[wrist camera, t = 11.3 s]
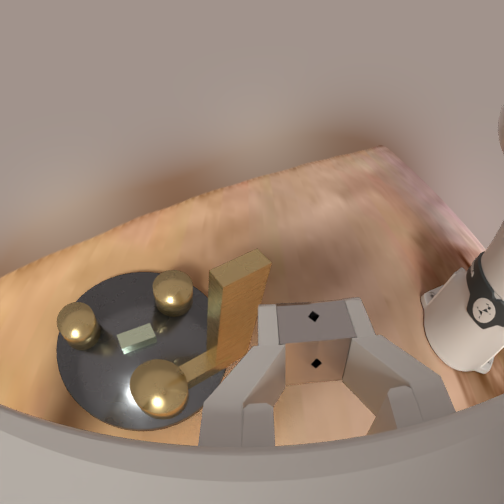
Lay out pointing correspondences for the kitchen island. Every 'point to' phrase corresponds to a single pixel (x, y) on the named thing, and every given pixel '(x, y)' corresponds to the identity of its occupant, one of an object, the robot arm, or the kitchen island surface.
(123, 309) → the levelling plate
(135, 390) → the lever knob
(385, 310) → the kitchen island surface
